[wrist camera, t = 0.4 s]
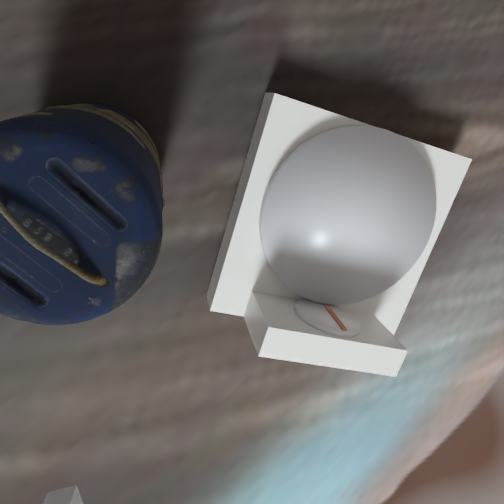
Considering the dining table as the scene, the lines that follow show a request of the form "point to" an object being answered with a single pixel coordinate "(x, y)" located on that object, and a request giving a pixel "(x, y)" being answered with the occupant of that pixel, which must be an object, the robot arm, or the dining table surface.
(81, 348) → the dining table surface
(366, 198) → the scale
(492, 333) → the dining table surface
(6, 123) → the canister
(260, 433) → the dining table surface
